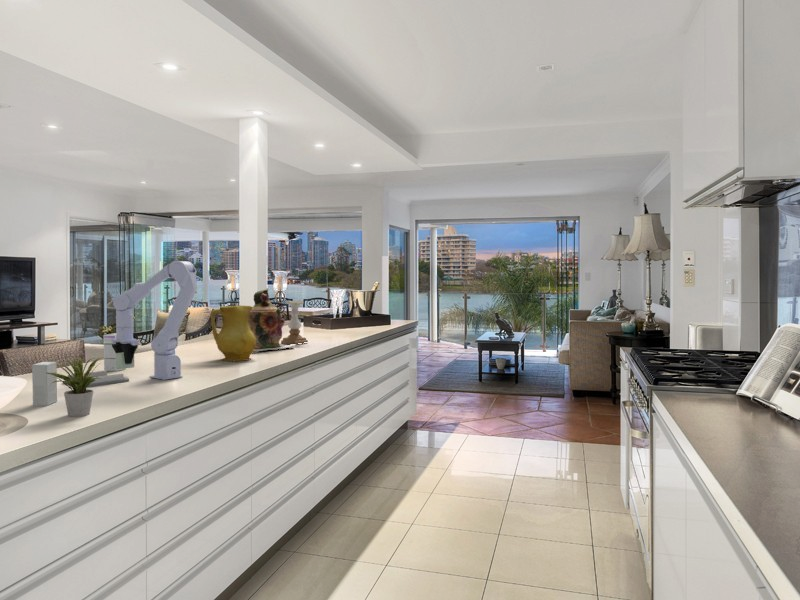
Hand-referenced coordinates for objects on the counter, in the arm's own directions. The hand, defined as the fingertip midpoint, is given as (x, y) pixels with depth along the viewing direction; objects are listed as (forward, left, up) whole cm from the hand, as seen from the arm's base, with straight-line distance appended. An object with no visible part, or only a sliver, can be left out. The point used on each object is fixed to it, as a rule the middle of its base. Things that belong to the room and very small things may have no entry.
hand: (124, 363), depth 225 cm
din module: (0, 0, -2) cm, 2 cm away
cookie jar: (+27, -94, -5) cm, 98 cm away
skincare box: (-27, +41, -5) cm, 49 cm away
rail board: (-4, +13, -5) cm, 15 cm away
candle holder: (+31, -121, -5) cm, 125 cm away
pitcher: (+6, -57, -5) cm, 57 cm away
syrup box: (+17, -6, -5) cm, 19 cm away
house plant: (-47, +41, -5) cm, 63 cm away
